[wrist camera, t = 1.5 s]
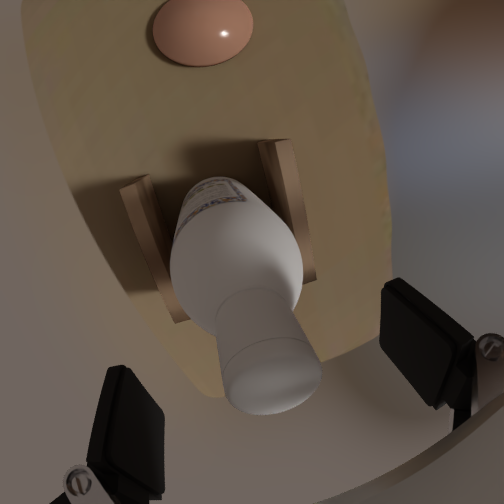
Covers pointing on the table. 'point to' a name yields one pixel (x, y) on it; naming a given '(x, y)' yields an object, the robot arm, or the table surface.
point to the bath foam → (245, 294)
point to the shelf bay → (158, 239)
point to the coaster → (202, 30)
